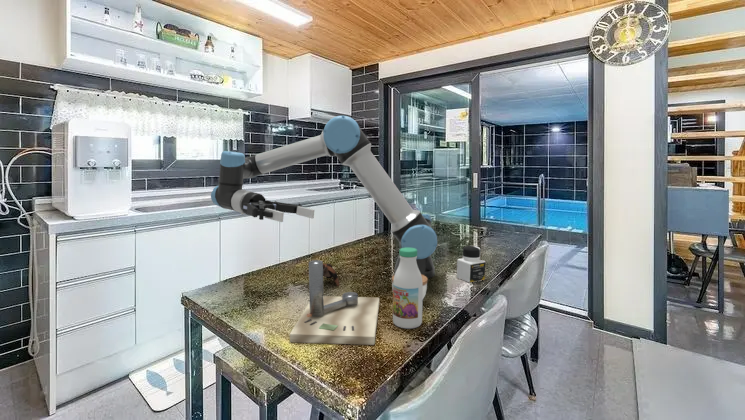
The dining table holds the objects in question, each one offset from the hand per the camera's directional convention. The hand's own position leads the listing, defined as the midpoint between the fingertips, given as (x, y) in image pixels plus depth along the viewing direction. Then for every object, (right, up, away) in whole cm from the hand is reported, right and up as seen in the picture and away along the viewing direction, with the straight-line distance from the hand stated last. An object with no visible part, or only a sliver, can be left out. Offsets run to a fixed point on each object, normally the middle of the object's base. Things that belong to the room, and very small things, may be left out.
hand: (298, 215), depth 106 cm
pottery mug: (+6, -24, +18) cm, 31 cm away
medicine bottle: (+58, -24, +23) cm, 66 cm away
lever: (+11, -25, -9) cm, 29 cm away
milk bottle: (+31, -28, -12) cm, 44 cm away
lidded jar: (+33, -26, +2) cm, 42 cm away
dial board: (+13, -28, -11) cm, 33 cm away
